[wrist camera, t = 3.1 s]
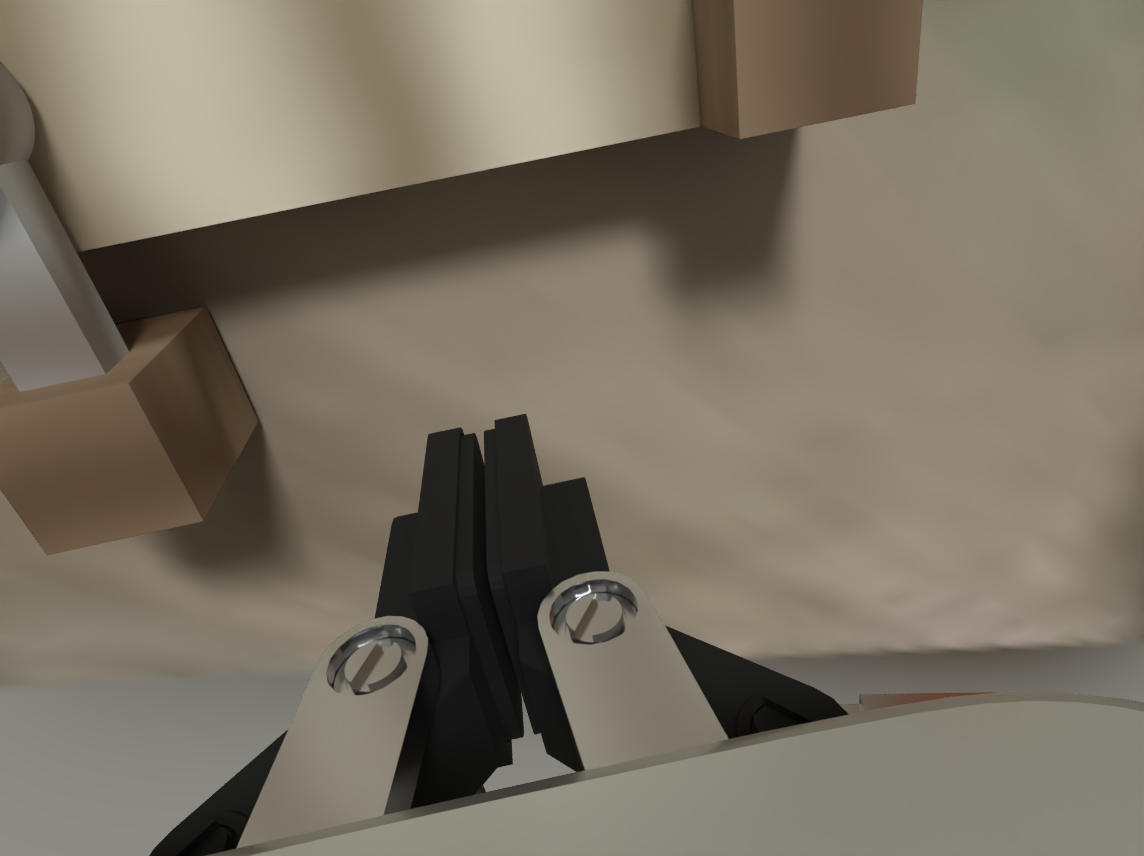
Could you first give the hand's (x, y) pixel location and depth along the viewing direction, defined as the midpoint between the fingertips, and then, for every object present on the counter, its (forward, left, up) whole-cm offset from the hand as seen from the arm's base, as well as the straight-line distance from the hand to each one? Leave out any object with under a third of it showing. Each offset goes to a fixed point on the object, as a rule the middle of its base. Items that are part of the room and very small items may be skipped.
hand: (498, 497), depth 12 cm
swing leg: (-9, +4, -8) cm, 13 cm away
